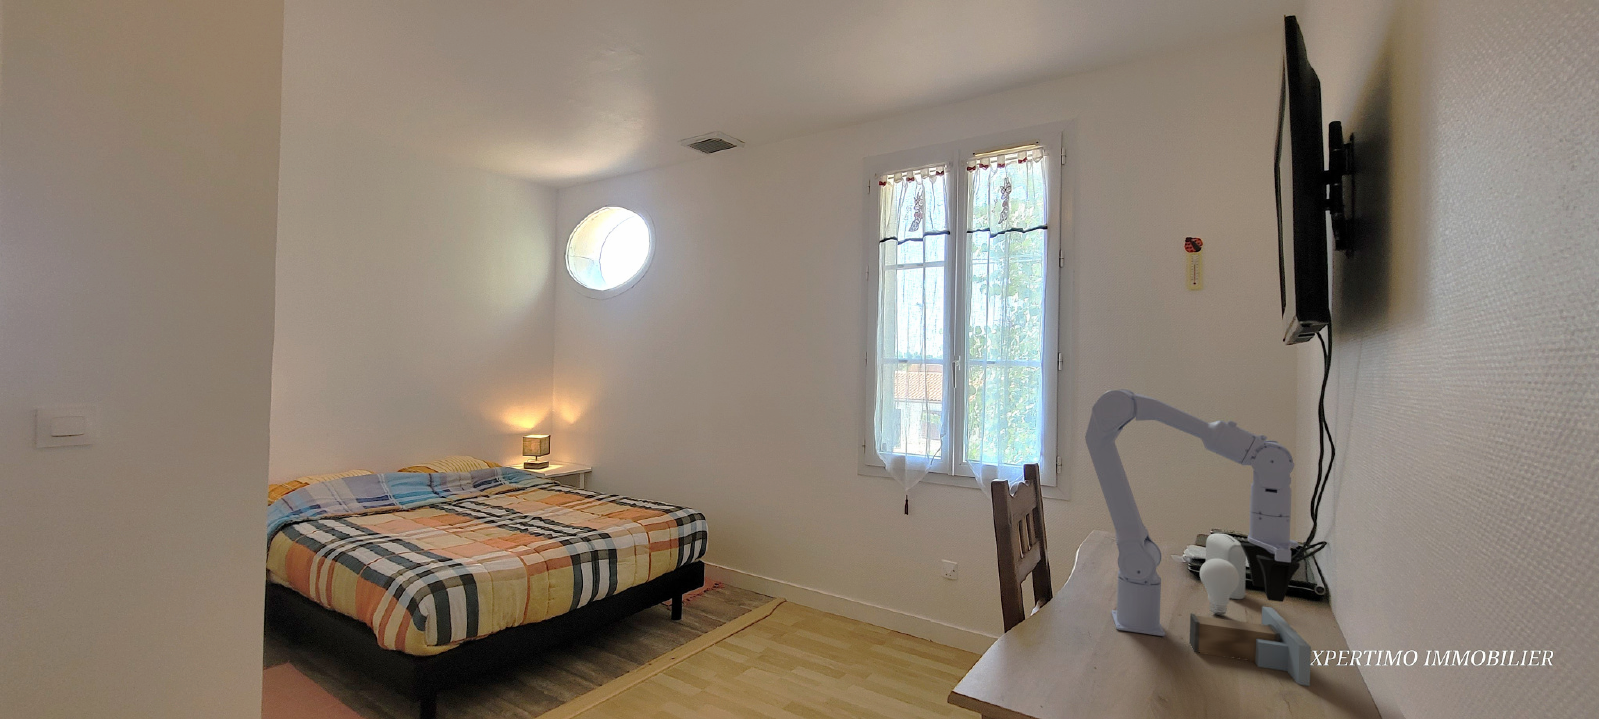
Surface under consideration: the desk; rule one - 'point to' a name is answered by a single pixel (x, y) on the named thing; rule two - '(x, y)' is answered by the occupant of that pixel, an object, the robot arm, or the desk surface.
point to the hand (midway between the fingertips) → (1267, 593)
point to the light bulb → (1219, 583)
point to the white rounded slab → (1228, 557)
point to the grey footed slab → (1284, 649)
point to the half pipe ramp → (1228, 636)
